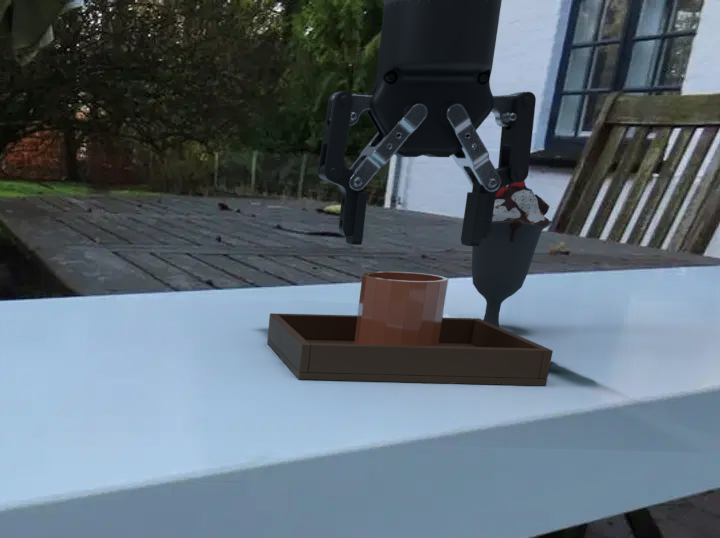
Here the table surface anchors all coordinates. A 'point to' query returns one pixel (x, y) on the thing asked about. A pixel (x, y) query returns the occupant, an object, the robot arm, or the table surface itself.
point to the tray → (407, 353)
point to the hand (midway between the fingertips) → (412, 244)
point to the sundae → (508, 246)
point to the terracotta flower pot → (400, 309)
